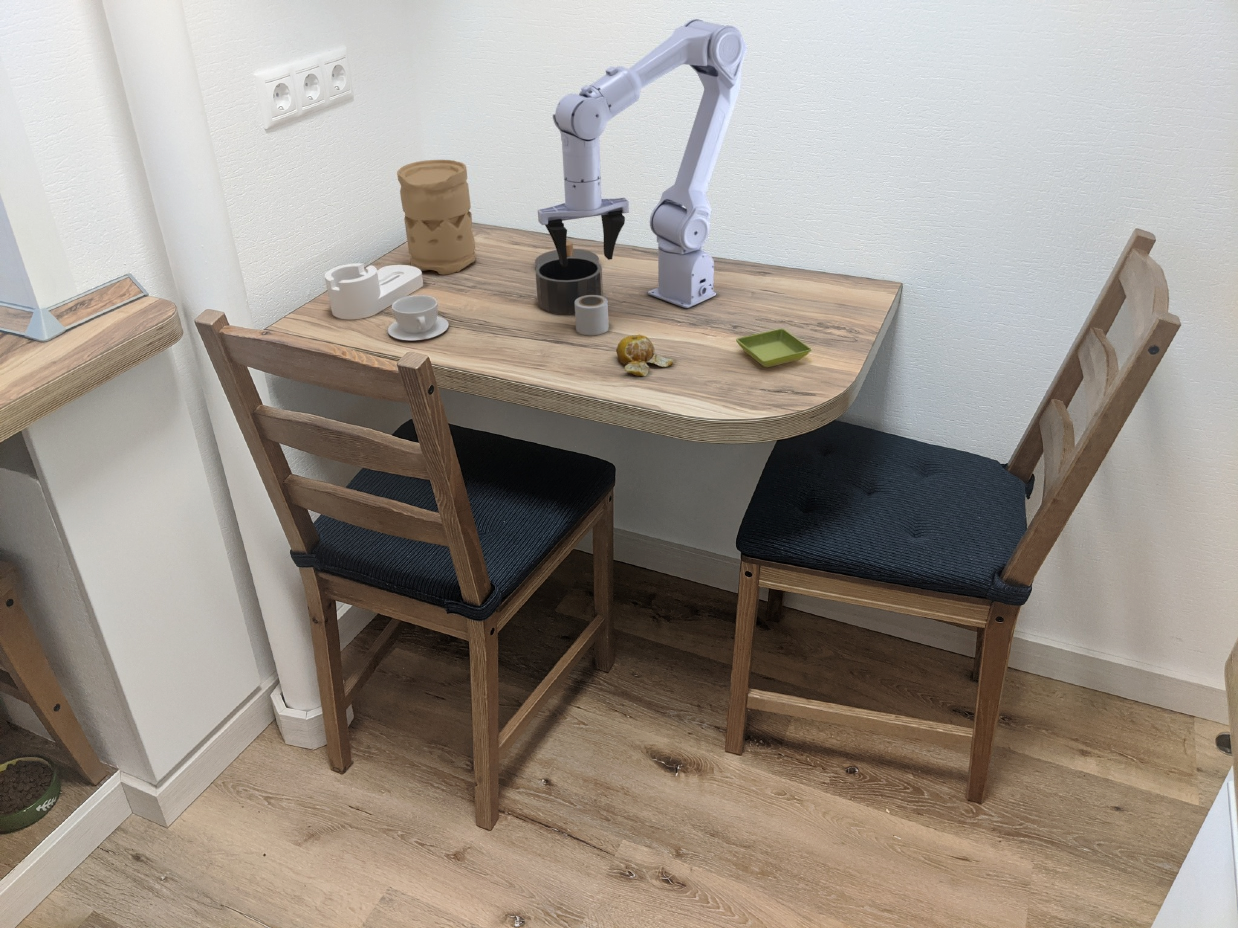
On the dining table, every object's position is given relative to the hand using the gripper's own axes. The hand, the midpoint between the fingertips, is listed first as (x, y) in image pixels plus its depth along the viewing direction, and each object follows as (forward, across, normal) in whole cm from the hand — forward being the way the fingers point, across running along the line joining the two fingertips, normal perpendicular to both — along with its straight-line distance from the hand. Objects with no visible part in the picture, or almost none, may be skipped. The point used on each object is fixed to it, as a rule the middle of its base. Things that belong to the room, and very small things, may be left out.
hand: (586, 261), depth 155 cm
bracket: (+11, +32, -24) cm, 41 cm away
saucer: (+11, -22, +24) cm, 34 cm away
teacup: (+11, +27, -8) cm, 30 cm away
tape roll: (+10, 0, +3) cm, 11 cm away
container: (+11, +17, -36) cm, 41 cm away
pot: (+10, 0, -9) cm, 14 cm away
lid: (+10, -4, -25) cm, 27 cm away
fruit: (+11, -2, +19) cm, 22 cm away
